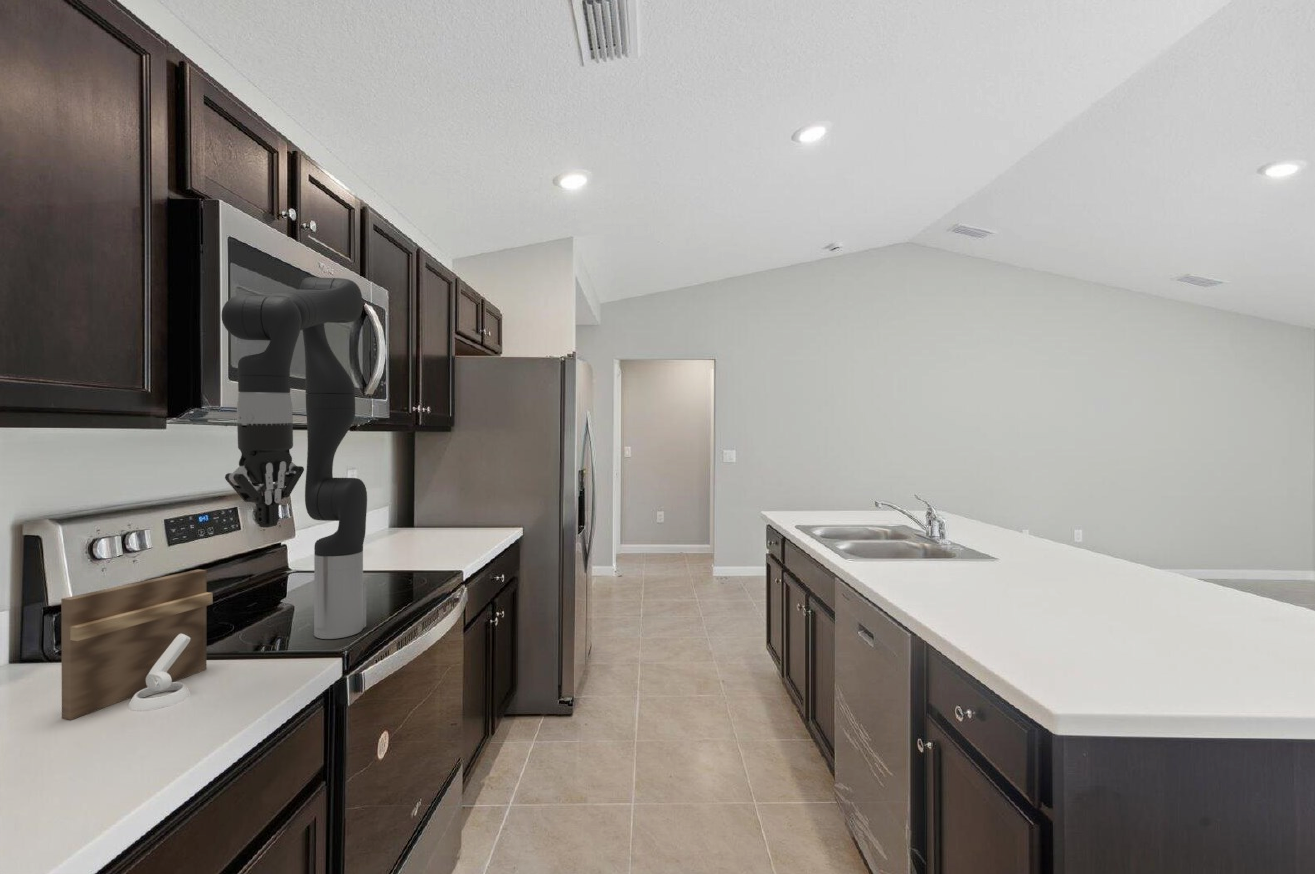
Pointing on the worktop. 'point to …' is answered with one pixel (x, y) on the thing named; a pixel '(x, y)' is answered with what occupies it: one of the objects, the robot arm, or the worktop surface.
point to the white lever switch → (162, 681)
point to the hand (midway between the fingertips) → (268, 526)
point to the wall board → (129, 638)
